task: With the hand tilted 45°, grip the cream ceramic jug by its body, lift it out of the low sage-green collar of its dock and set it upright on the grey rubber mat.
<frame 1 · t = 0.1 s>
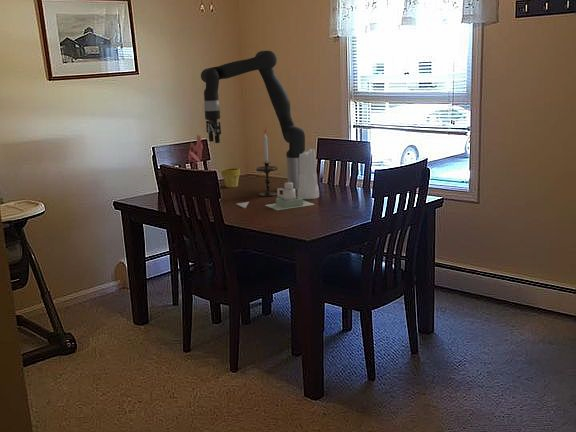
hand: (214, 142, 342), 29 cm above the table, tool pointing down, fingers open, 8 cm apart
figurine: (204, 206, 335), on the table
candlestick: (268, 195, 353), on the table
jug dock: (289, 206, 325), on the table
grey mat: (253, 205, 331), on the table
decorative vase: (308, 198, 341), on the table
plant pot: (231, 186, 382), on the table
cream jug: (289, 204, 325), point 1 cm above the table, touching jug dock
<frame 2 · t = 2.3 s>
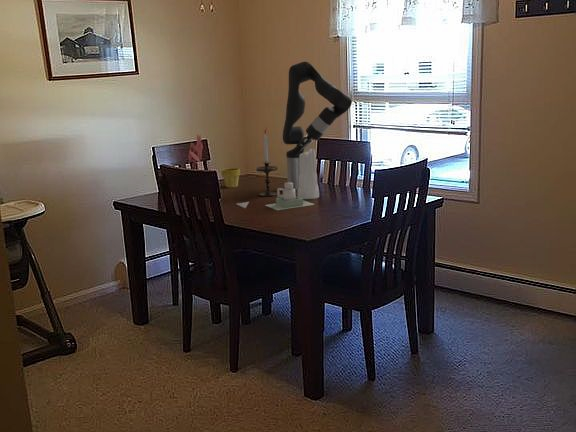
hand: (295, 154, 319), 25 cm above the table, tool tilted 40°, fingers open, 8 cm apart
nothing on the table moved.
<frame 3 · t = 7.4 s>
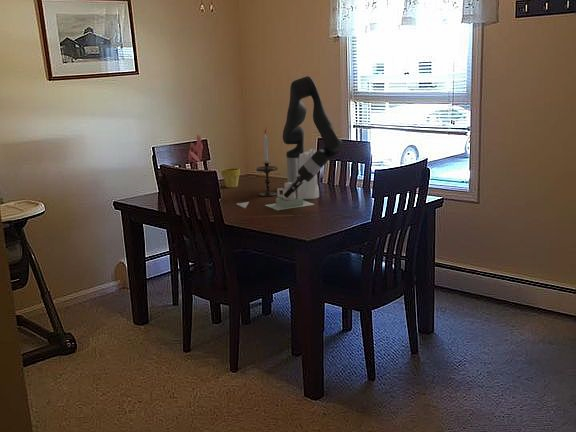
hand: (285, 194, 324), 6 cm above the table, tool tilted 45°, fingers closed on cream jug, 6 cm apart
cream jug: (289, 204, 325), point 1 cm above the table, touching gripper, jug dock
everything else where it was.
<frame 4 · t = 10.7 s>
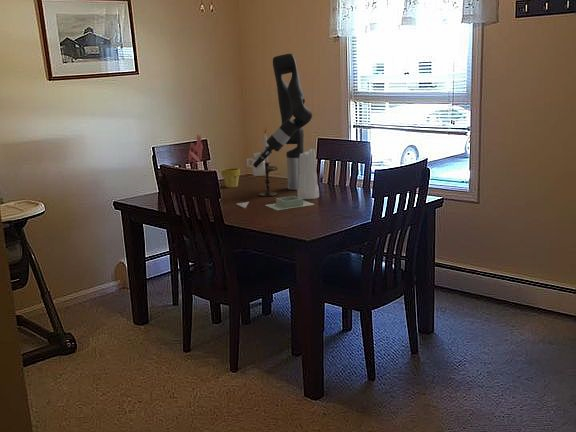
hand: (255, 165, 326), 20 cm above the table, tool tilted 45°, fingers closed on cream jug, 6 cm apart
cream jug: (259, 174, 327), point 15 cm above the table, touching gripper
everything else where it was.
when the fingers open (7 cm above the table, at t = 14.1 s): cream jug drops 1 cm, resting on grey mat.
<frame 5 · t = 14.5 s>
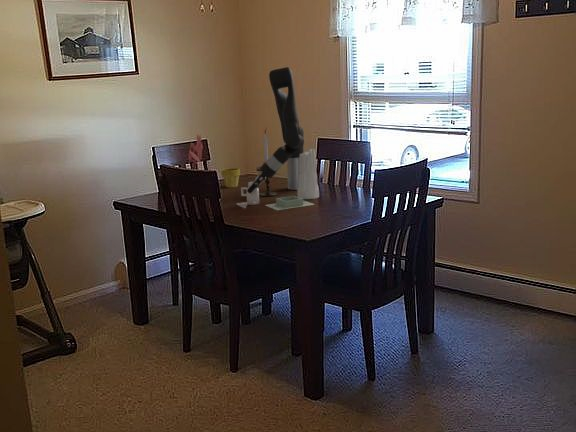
hand: (249, 190, 330), 7 cm above the table, tool tilted 45°, fingers open, 8 cm apart
cream jug: (253, 203, 332), point 1 cm above the table, touching grey mat
everything else where it was.
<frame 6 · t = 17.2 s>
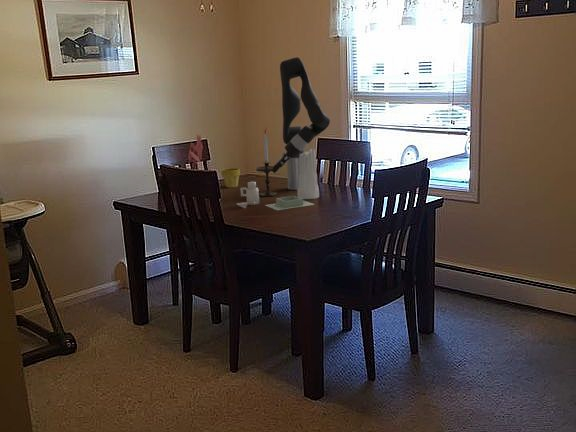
hand: (273, 170, 327), 17 cm above the table, tool tilted 45°, fingers open, 8 cm apart
nothing on the table moved.
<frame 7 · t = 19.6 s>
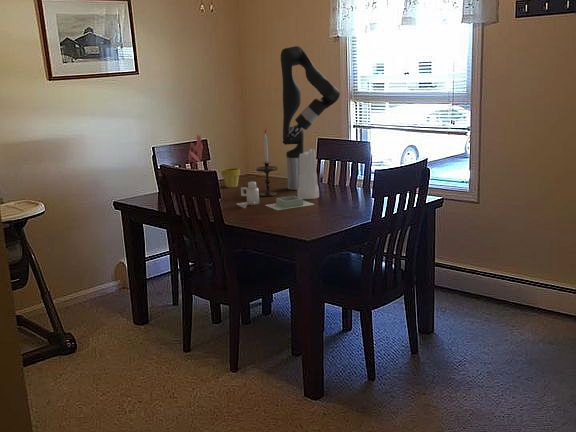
hand: (284, 142, 334), 29 cm above the table, tool tilted 45°, fingers open, 8 cm apart
nothing on the table moved.
at the end: cream jug inside the target area (0.2 cm from its centre), point 0.7 cm above the table; cream jug tilted 1°; the gripper is holding nothing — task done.
